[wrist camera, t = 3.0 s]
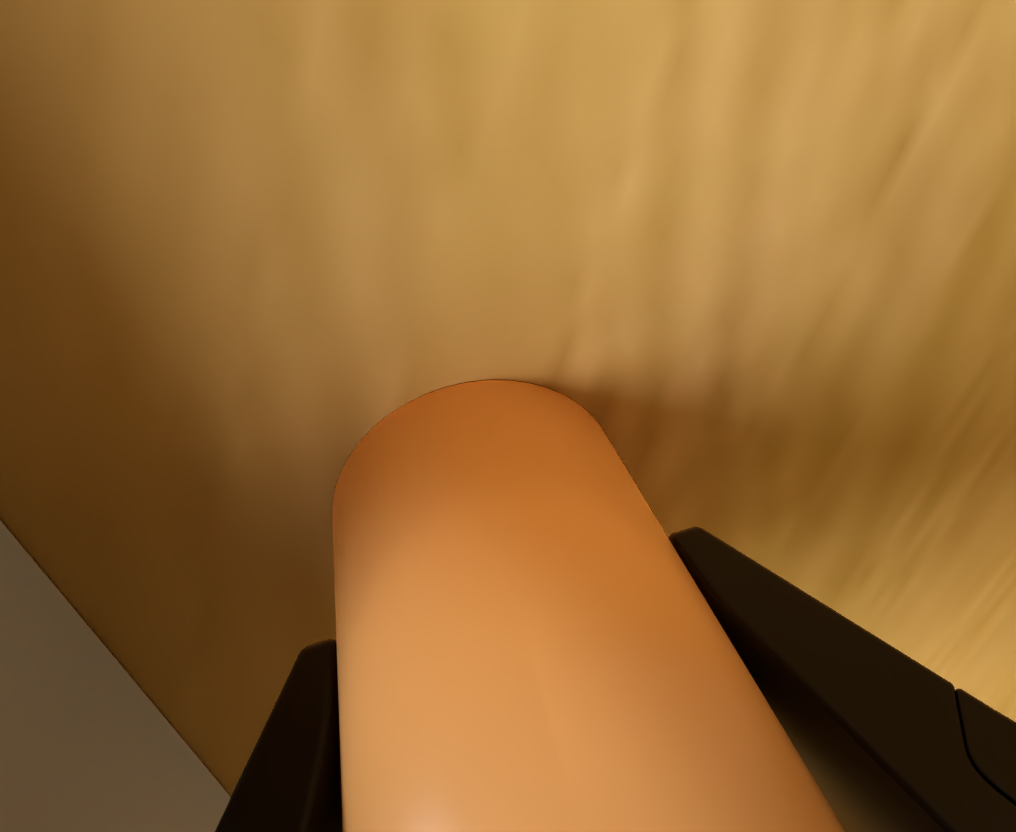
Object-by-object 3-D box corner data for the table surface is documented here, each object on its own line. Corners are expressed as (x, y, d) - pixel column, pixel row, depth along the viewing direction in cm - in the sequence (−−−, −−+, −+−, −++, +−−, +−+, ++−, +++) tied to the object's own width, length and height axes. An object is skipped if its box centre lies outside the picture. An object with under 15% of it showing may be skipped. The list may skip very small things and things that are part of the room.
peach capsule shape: (626, 560, 12) (899, 1088, 7) (381, 636, 12) (443, 1265, 6) (599, 343, 10) (1006, 897, 4) (286, 432, 9) (244, 1177, 4)
